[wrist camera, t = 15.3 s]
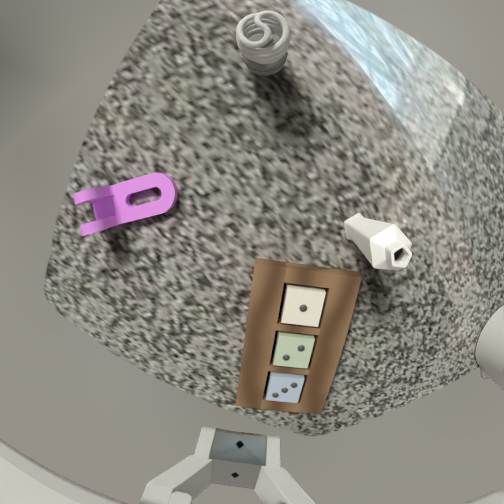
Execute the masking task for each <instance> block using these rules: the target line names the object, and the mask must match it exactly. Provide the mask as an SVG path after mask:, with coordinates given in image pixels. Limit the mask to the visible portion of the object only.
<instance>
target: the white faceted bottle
mask: <svg viewBox="0 0 504 504" xmlns="http://www.w3.org/2000/svg"><path fill="white" fill-rule="evenodd" d="M344 226H345V232H346V238H347V240H353V241H354V243H355V244H356V245H357V246H358V248H359V249H360V250H361V252H362V253H363V254H364V256H365V257H366V258H367V259H368V261H369V262H370V263H371V265H372V266H373V267H374V268H377V269H387V270H400V268H401V267H402V268H405V267H406V266H407V264H408V262H409V260H410V258H411V256H412V252H411V251H410V248H411V245H412V244H411V242H410V241H409V240H408V239H407V237H406V236H405V235H404V234H403V233H402V232H401V231H400V229H399V228H398V227H397V226H396V225H394V224H389V223H385V222H380V221H376V220H371V219H366V218H364V217H363V216H362V215H361V214H360V213H358V214H356V215H354V216H353V217H351V218H349V219H347V220H346V221H344Z"/></svg>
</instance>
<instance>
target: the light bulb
mask: <svg viewBox="0 0 504 504" xmlns="http://www.w3.org/2000/svg"><path fill="white" fill-rule="evenodd" d="M270 29H271V30H273V31H275V32H276V33H277V34H278V35H279V36H280V38H281V39H280V38H279V37H277V36H275V35H273V34H271V30H270ZM255 34H256V35H255ZM253 35H254V36H253ZM290 36H291V35H290V28H289V25H288V23H287V21H286V20H285V18H284V17H283V16H281V15H280V14H278V13H276V12H273V11H262V12H260V13H254V14H250V15H248V16H246V17H244V18H243V19H242V20H241V21H240V22H239V24H238V26H237V28H236V39H237V43H238V47H239V49H240V50H241V52H242V57H243V60H244V62H245V64H246V66H247V67H248V69H249V70H251V71H252V72H254V73H255V74H258V75H265V76H268V75H273V74H275V73H277V72H279V71H280V70H281V69H282V68H283V66H284V64H285V61H286V58H287V55H288V54H287V50H288V48H289V45H290Z"/></svg>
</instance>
